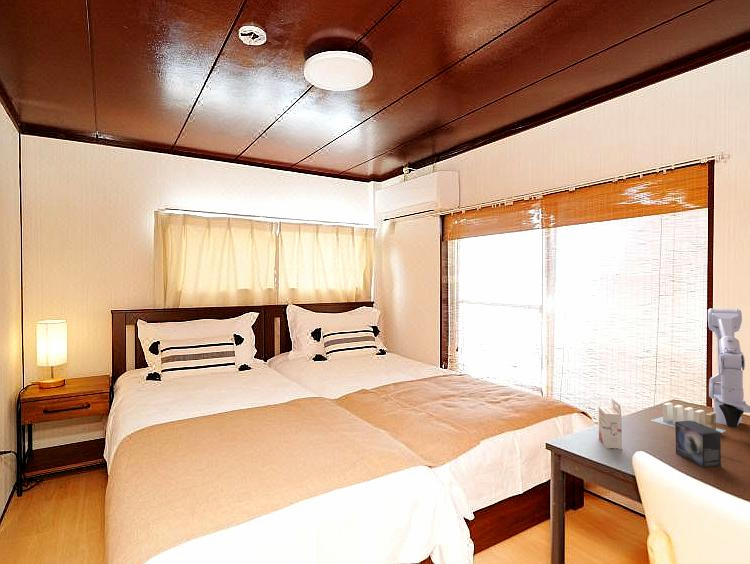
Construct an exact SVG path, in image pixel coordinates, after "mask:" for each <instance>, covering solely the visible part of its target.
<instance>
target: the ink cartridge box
mask: <svg viewBox="0 0 750 564" xmlns="http://www.w3.org/2000/svg"><path fill="white" fill-rule="evenodd" d="M611 403H612V406H600V405H599V406H598V439H599V441H600V440H601V441H600V442H601V443H602V445H603V446H604V445H605V446H606V447H605V446H604V447H605V449H610V448H619V449H618V450H622V449H623V440H622V439H623V438H622V437H623V436H622V435H623V434H622V433H623V432H622V431H623V430H622V429H623V428H622V427H623V426H622V410H621V404H619V403H618V401H616V400H615V399H614V398H611Z"/></svg>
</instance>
